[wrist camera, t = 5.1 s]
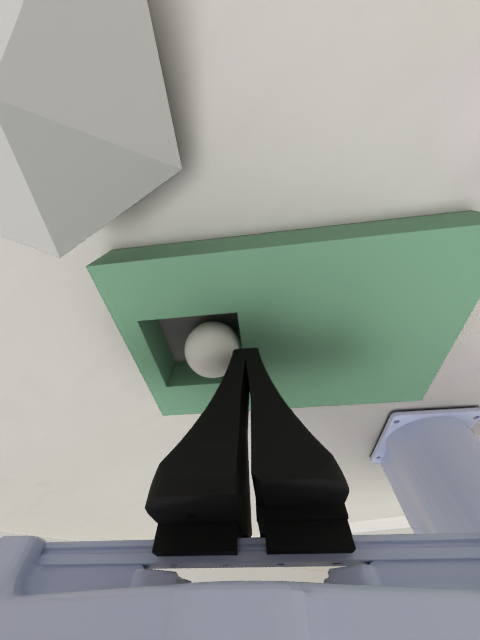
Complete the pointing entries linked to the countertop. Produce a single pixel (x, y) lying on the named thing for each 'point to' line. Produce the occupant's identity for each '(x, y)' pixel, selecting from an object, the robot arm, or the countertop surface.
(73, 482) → the countertop surface
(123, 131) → the die
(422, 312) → the green
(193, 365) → the ball
